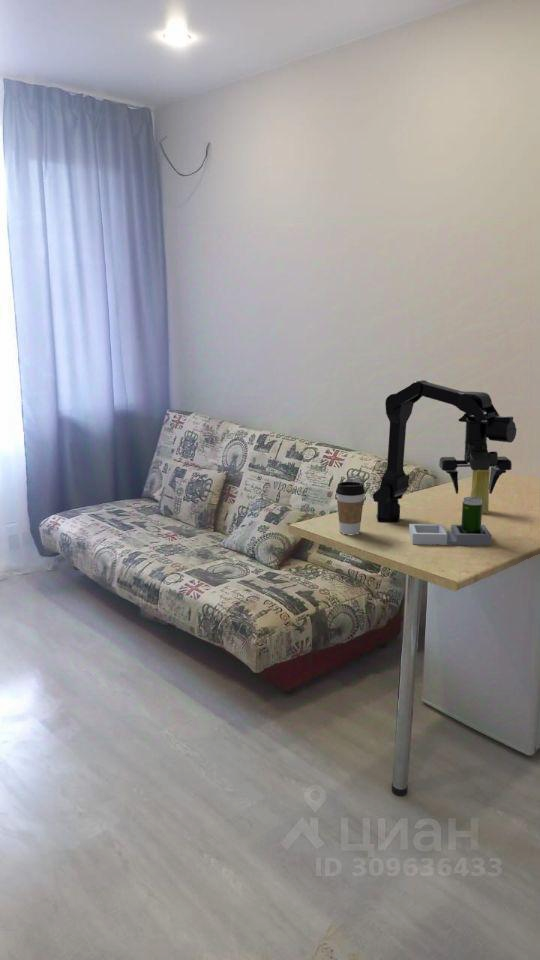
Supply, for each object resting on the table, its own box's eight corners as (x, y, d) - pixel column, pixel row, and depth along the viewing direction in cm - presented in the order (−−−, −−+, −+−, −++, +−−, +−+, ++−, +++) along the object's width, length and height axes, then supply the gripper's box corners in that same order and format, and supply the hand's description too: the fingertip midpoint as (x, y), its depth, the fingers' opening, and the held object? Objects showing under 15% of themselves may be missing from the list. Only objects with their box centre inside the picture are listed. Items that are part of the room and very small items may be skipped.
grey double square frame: (412, 544, 196) (412, 533, 195) (409, 533, 205) (409, 523, 204) (490, 545, 194) (491, 535, 193) (483, 534, 203) (484, 525, 202)
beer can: (471, 544, 195) (473, 502, 192) (456, 539, 199) (458, 498, 197) (484, 540, 198) (486, 499, 195) (469, 535, 202) (471, 495, 199)
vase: (473, 507, 230) (476, 465, 227) (491, 511, 226) (494, 468, 223) (465, 512, 226) (468, 469, 222) (484, 515, 222) (486, 471, 218)
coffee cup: (341, 538, 202) (342, 487, 198) (331, 529, 210) (331, 481, 206) (368, 535, 204) (369, 485, 200) (357, 527, 212) (358, 478, 208)
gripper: (446, 444, 186) (444, 501, 189) (518, 443, 184) (515, 500, 188) (439, 437, 197) (438, 491, 200) (507, 436, 195) (504, 490, 199)
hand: (473, 493), depth 196 cm, fingers open, 9 cm apart
